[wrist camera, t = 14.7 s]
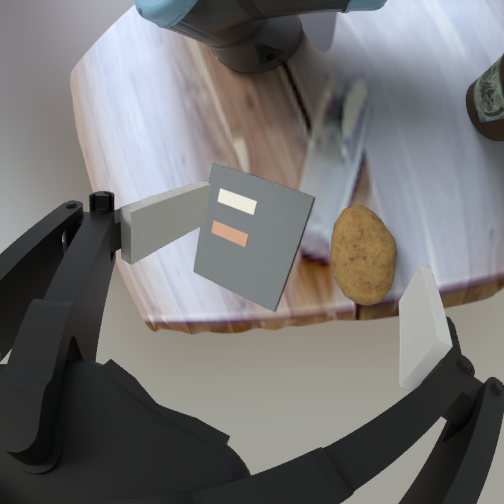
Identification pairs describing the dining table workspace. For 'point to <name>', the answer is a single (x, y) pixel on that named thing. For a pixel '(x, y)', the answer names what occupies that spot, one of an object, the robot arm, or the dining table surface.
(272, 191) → the tile
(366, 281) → the potato
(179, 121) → the dining table surface
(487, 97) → the olive oil
